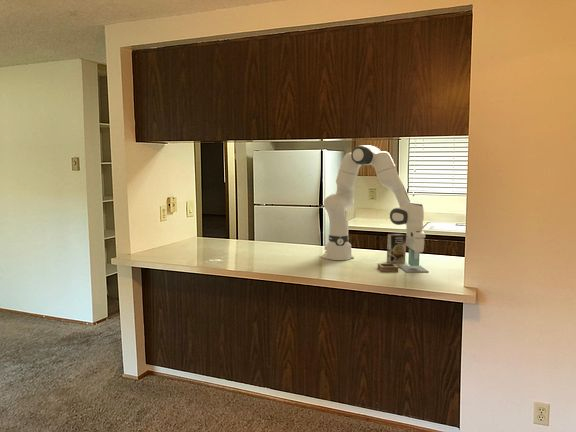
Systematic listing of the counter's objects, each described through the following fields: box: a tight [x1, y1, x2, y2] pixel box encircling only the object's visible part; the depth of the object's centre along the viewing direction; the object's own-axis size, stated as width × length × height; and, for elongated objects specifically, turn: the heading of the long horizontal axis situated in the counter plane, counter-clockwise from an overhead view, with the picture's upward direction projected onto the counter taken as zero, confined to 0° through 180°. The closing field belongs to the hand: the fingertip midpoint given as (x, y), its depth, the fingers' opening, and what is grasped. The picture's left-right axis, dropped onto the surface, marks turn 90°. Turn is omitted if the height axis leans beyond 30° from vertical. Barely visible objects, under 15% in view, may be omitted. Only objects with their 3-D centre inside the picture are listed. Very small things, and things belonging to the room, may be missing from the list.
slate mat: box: [398, 265, 429, 274], centre depth 265 cm, size 14×12×1 cm
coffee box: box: [386, 233, 407, 264], centre depth 284 cm, size 9×6×16 cm
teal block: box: [408, 249, 421, 266], centre depth 264 cm, size 4×4×8 cm
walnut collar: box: [377, 262, 399, 273], centre depth 264 cm, size 9×9×2 cm
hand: (413, 257), depth 264 cm, fingers closed on teal block, 4 cm apart
